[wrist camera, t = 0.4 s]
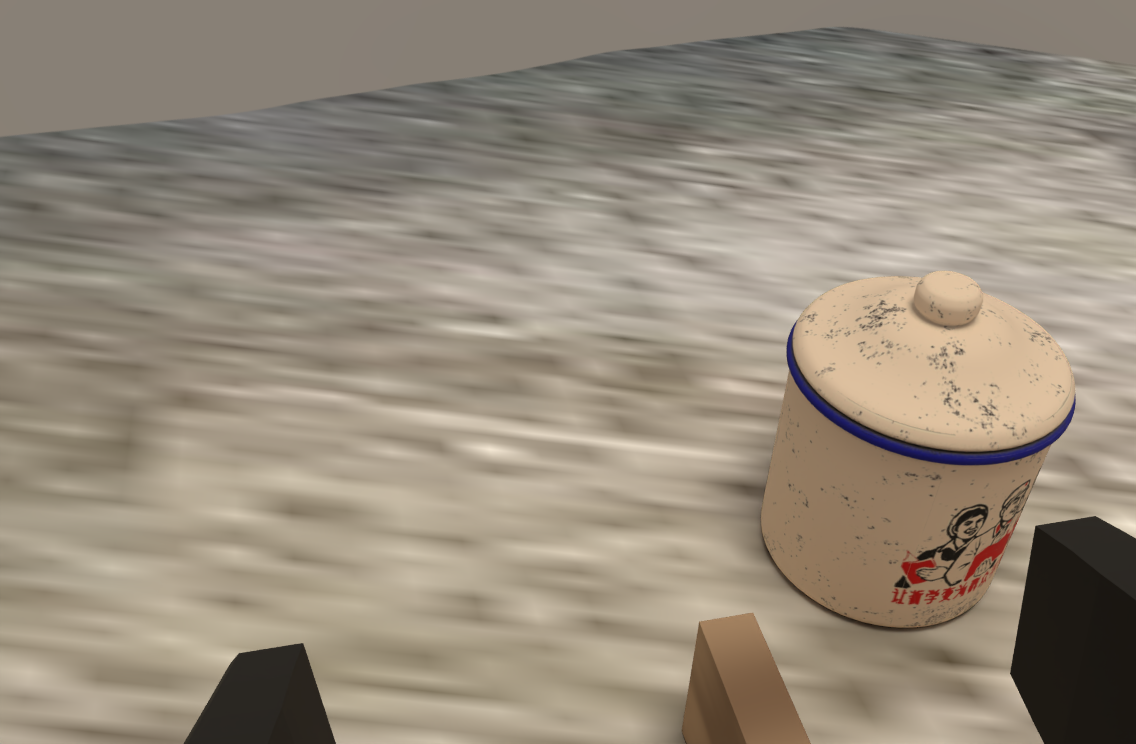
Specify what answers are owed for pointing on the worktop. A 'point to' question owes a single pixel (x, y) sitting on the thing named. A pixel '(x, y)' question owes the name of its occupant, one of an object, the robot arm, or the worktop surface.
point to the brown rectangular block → (738, 689)
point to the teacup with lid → (909, 445)
